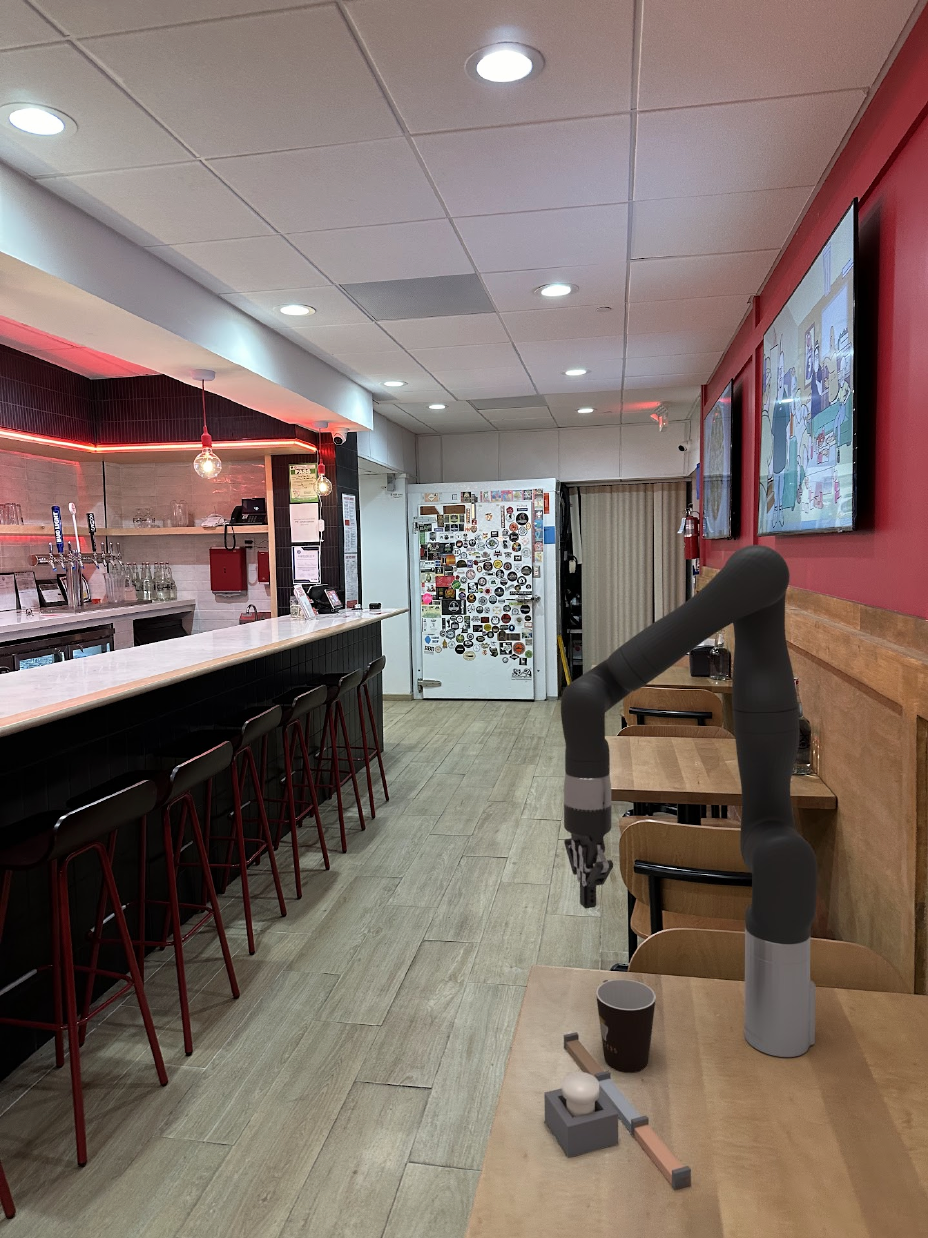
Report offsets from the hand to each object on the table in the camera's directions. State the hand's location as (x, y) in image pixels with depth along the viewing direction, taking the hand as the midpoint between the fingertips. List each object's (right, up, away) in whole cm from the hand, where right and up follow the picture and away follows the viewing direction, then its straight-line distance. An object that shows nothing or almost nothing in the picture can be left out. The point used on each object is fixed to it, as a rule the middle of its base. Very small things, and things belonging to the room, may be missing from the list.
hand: (587, 906), depth 133 cm
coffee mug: (+4, -19, -10) cm, 22 cm away
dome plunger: (-5, -19, -27) cm, 33 cm away
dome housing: (-5, -20, -27) cm, 34 cm away
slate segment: (+1, -20, -22) cm, 30 cm away
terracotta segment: (+4, -20, -32) cm, 38 cm away
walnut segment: (-2, -19, -13) cm, 23 cm away
